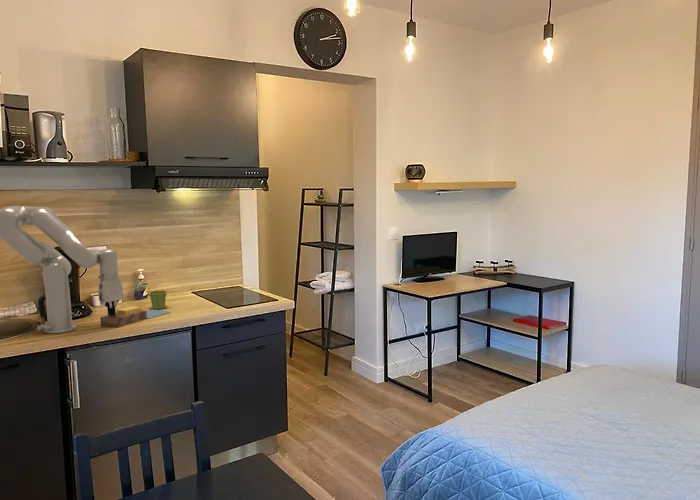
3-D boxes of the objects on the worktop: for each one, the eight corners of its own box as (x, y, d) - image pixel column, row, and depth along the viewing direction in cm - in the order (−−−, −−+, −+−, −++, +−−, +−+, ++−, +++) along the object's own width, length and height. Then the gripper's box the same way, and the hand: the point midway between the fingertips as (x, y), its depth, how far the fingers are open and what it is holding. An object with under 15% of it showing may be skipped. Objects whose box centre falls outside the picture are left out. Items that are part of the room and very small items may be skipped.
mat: (149, 318, 256) (149, 318, 256) (131, 316, 261) (131, 315, 261) (170, 312, 268) (170, 312, 268) (153, 310, 274) (153, 309, 273)
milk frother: (62, 316, 261) (60, 287, 260) (86, 319, 255) (83, 289, 254) (36, 323, 248) (33, 292, 246) (60, 326, 242) (57, 295, 241)
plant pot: (155, 311, 271) (154, 294, 270) (145, 308, 278) (144, 292, 276) (171, 307, 278) (170, 291, 277) (162, 305, 285) (161, 289, 283)
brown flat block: (115, 327, 240) (115, 319, 239) (100, 325, 244) (100, 317, 244) (146, 318, 256) (146, 310, 255) (132, 316, 260) (131, 308, 260)
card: (125, 315, 247) (125, 311, 247) (116, 313, 249) (116, 309, 249) (141, 311, 255) (140, 307, 255) (132, 309, 257) (132, 305, 257)
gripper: (100, 279, 233) (103, 320, 235) (128, 274, 246) (130, 312, 248) (89, 278, 236) (92, 318, 238) (117, 273, 249) (119, 311, 252)
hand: (111, 315), depth 243 cm, fingers closed
